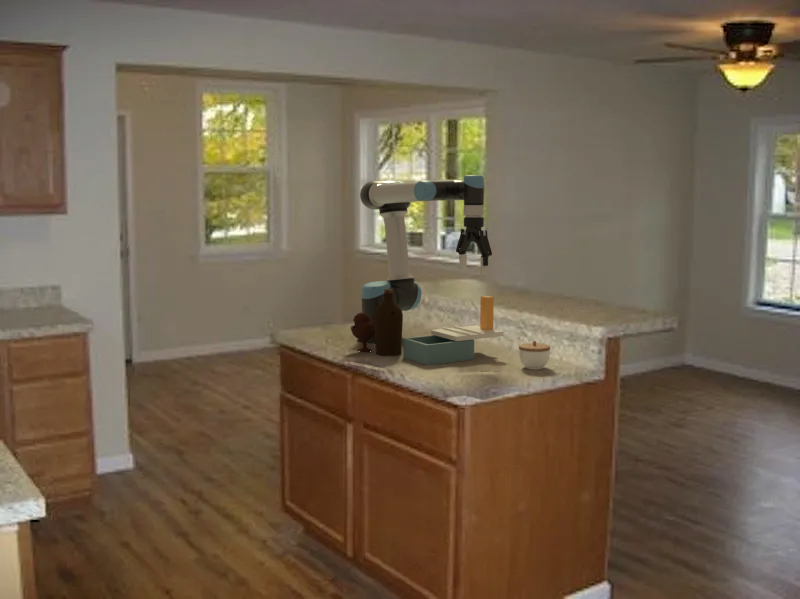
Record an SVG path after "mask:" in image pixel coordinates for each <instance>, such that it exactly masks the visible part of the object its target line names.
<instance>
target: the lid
mask: <svg viewBox="0 0 800 599" xmlns="http://www.w3.org/2000/svg"><path fill="white" fill-rule="evenodd" d="M494 298H495V297H494V296H491V295H490V296H489V295H481V296H480V305H479V308H480V312H479V313H480V314H479V315H480V320H479V322H480V324H479V325H478V324H477V325H476V324H475V325H467V326H466V325H465V326H457V325H453V327H449V328H448V327H446V326H443V327H442V328H439V329H438V328H437V329H431V330H430V335H435V336H439V337H443V338H446V339H450V340H454V341H463V340H472V339H473V340H479V339H487V338H488V339H489V338H497V337H498V338H499V337H504V334H505V333H504V331H502V330H499V329H494V301H495V300H494Z"/></svg>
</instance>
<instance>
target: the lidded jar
mask: <svg viewBox="0 0 800 599" xmlns="http://www.w3.org/2000/svg"><path fill="white" fill-rule="evenodd" d="M518 350H519V351H518V353H519V359H520V363H521V364H522V365H523V367H525V369H527V370H536V371H537V370H542V369H544V367H546V366H547V365H548V362H549V360H550V356H551V355H550V354H551V345H550V344H546V343H537V340H533V341H532V342H527V343H521V344H519V345H518Z"/></svg>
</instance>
